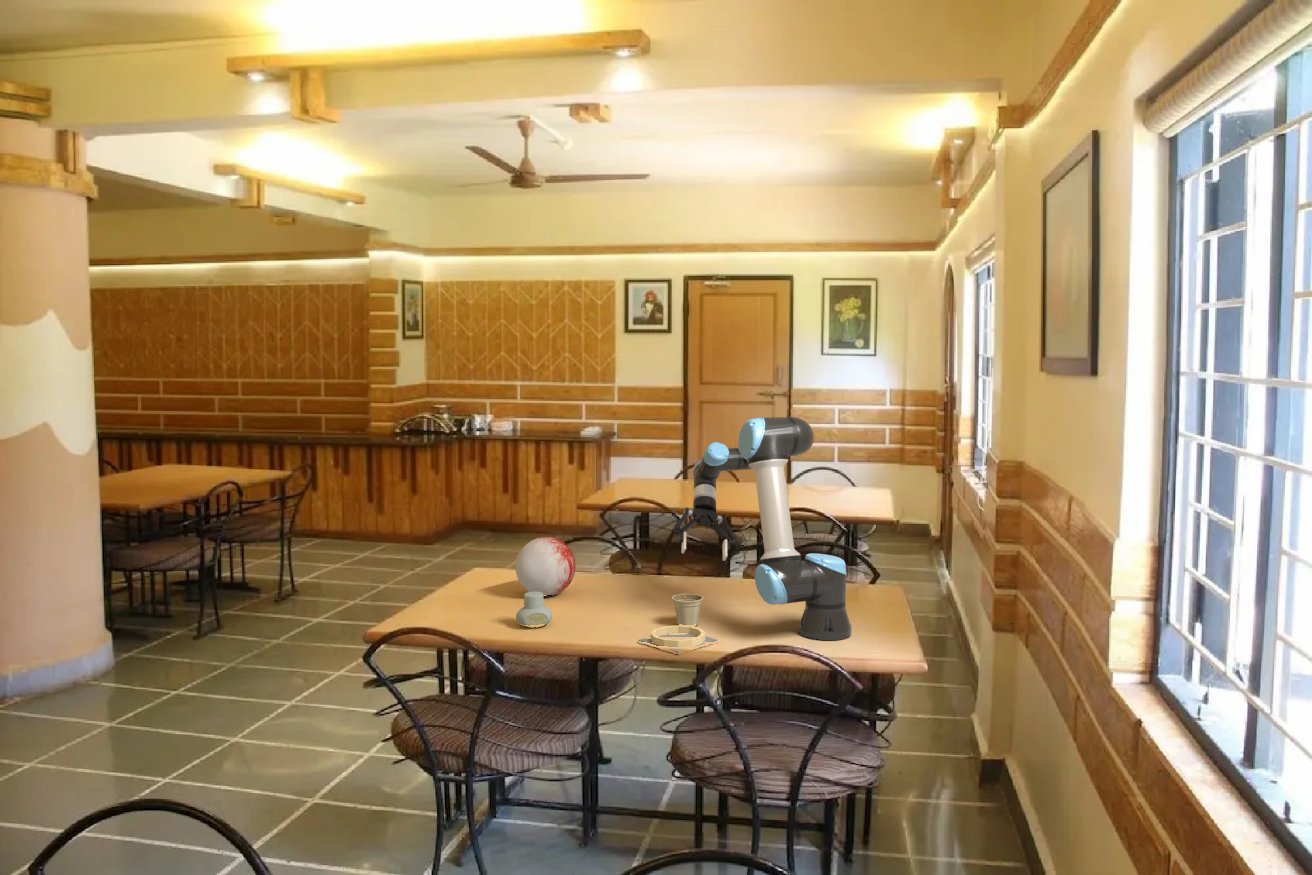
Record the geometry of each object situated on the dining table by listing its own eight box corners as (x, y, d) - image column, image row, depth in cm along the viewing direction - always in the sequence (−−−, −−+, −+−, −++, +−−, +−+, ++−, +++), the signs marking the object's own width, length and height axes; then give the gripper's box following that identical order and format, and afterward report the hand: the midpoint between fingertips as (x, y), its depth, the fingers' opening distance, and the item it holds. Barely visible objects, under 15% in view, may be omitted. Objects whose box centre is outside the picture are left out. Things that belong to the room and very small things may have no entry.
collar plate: (717, 642, 296) (717, 632, 296) (677, 655, 285) (677, 644, 285) (678, 631, 307) (678, 621, 307) (638, 643, 297) (638, 632, 296)
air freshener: (518, 631, 310) (517, 598, 309) (514, 623, 318) (513, 591, 317) (554, 627, 313) (553, 595, 312) (549, 620, 321) (549, 589, 320)
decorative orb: (547, 585, 367) (545, 529, 365) (588, 593, 354) (587, 536, 352) (502, 597, 351) (501, 539, 349) (544, 606, 338) (543, 546, 336)
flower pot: (703, 629, 310) (703, 601, 309) (672, 629, 310) (671, 601, 309) (702, 620, 319) (702, 593, 318) (672, 621, 319) (672, 593, 318)
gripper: (737, 514, 346) (738, 567, 332) (665, 501, 342) (663, 554, 328) (744, 501, 341) (745, 554, 327) (671, 487, 337) (669, 541, 323)
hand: (704, 554), depth 327 cm, fingers open, 13 cm apart
